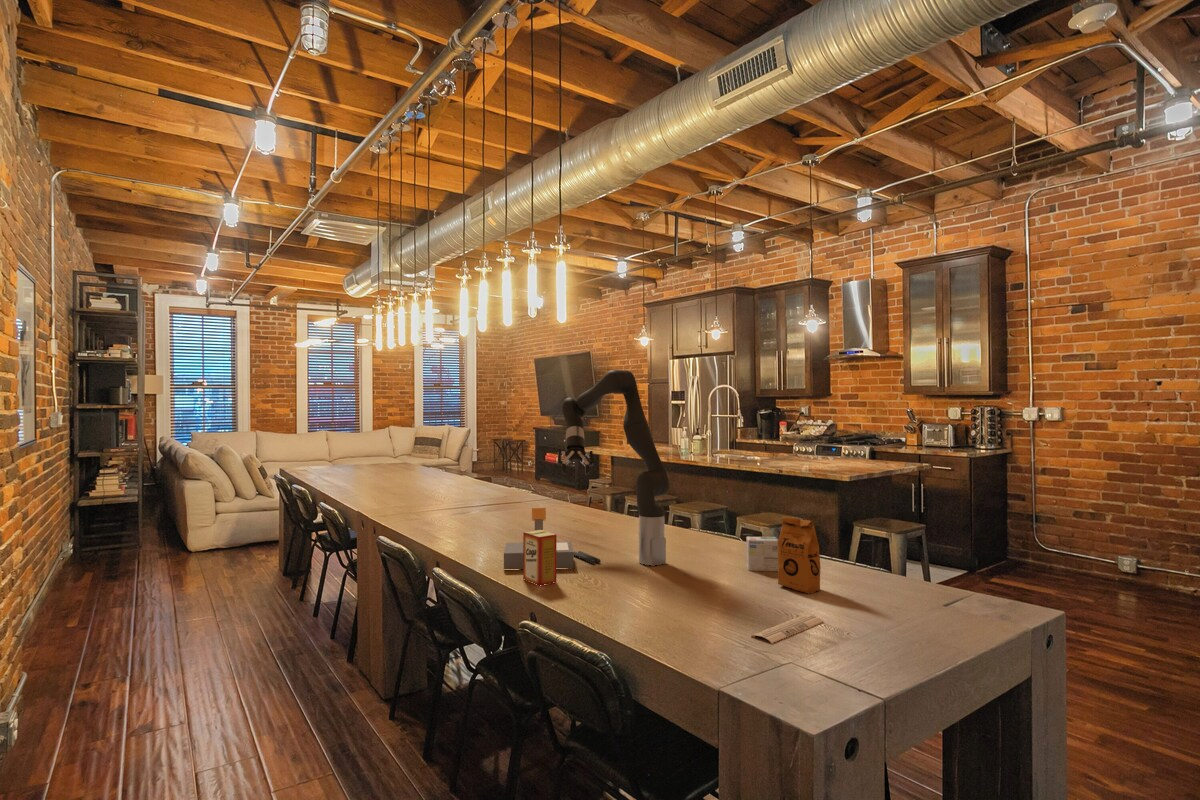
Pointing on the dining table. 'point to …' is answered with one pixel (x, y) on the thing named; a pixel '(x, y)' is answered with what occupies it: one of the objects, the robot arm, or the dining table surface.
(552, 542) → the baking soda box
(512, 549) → the breaker block
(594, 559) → the dark grey ridged bar
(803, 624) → the newspaper
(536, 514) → the breaker lever
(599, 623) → the dining table surface
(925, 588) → the dining table surface
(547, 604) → the dining table surface
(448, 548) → the dining table surface
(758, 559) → the light bulb box
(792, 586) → the coffee package
